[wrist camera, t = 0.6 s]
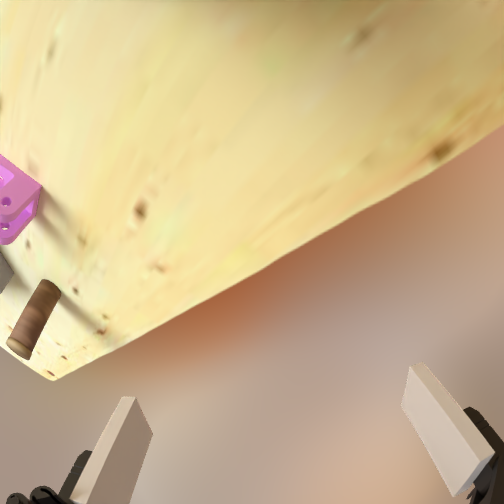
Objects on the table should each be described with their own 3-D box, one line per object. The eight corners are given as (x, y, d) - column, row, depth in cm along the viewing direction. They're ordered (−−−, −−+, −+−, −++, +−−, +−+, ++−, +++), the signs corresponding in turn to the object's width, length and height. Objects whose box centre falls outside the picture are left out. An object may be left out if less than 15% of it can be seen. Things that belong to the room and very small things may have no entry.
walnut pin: (36, 278, 38) (1, 339, 29) (52, 279, 38) (16, 345, 28) (48, 296, 42) (18, 356, 32) (65, 298, 41) (34, 362, 31)
